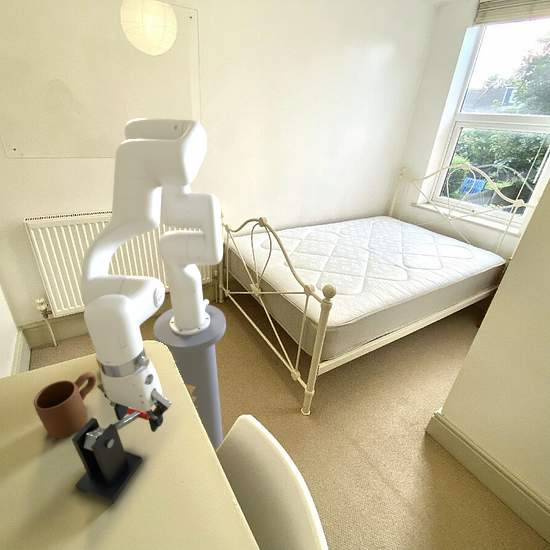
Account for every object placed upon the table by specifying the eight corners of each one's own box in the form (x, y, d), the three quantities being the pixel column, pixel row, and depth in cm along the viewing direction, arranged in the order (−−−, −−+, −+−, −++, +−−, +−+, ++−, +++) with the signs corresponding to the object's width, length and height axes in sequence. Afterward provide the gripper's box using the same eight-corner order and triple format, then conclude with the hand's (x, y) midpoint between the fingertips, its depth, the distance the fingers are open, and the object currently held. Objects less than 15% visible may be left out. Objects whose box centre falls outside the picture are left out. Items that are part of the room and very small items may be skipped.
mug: (91, 390, 75) (81, 361, 71) (113, 402, 72) (103, 373, 68) (40, 430, 66) (24, 400, 61) (62, 446, 63) (47, 416, 58)
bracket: (109, 448, 63) (93, 406, 57) (142, 460, 61) (129, 418, 55) (76, 489, 56) (54, 447, 50) (113, 504, 54) (94, 462, 48)
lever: (130, 414, 65) (132, 403, 65) (150, 421, 64) (152, 409, 64) (76, 445, 52) (79, 431, 52) (100, 454, 51) (103, 440, 51)
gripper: (176, 355, 57) (186, 416, 66) (100, 335, 61) (119, 395, 70) (151, 385, 51) (166, 449, 60) (67, 361, 55) (93, 424, 64)
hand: (140, 419), depth 65 cm, fingers open, 7 cm apart
